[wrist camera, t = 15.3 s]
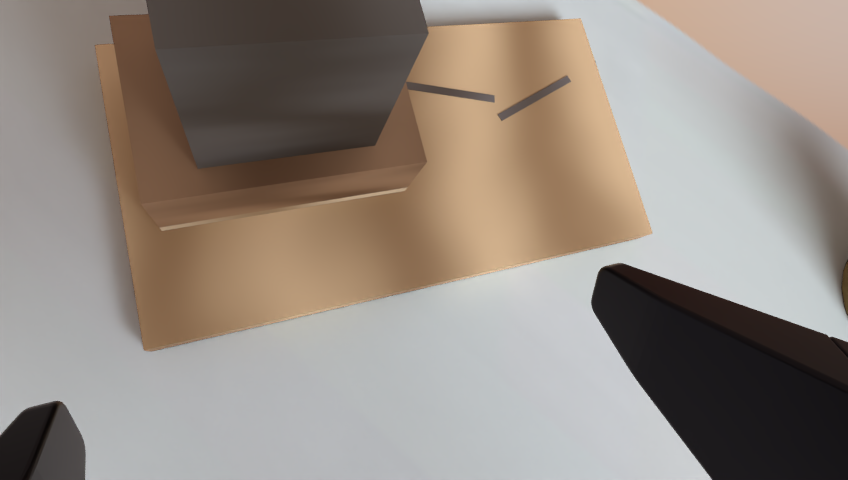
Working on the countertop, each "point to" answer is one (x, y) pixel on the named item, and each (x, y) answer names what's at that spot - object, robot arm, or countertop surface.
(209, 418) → the countertop surface
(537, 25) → the pine board
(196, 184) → the sanding block
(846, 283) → the cork
